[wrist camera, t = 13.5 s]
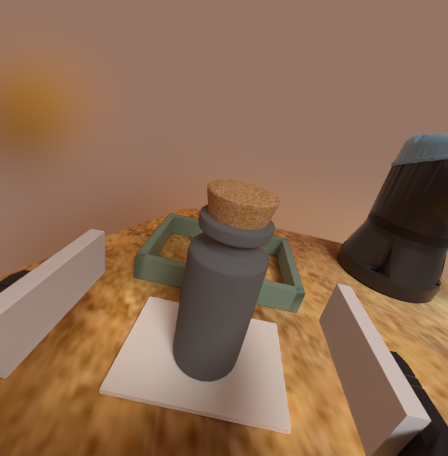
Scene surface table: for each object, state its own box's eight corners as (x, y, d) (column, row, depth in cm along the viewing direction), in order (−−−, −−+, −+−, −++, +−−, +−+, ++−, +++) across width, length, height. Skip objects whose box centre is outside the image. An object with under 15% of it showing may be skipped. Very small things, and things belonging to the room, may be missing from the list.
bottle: (188, 316, 25) (216, 171, 19) (243, 337, 24) (291, 192, 18) (159, 365, 20) (182, 188, 14) (227, 395, 19) (286, 219, 13)
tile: (275, 327, 27) (276, 323, 27) (289, 434, 18) (291, 430, 18) (149, 299, 27) (149, 296, 27) (99, 393, 18) (99, 389, 18)
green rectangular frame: (281, 254, 42) (287, 238, 41) (296, 313, 30) (305, 293, 28) (168, 229, 42) (169, 213, 41) (133, 277, 30) (135, 256, 28)
